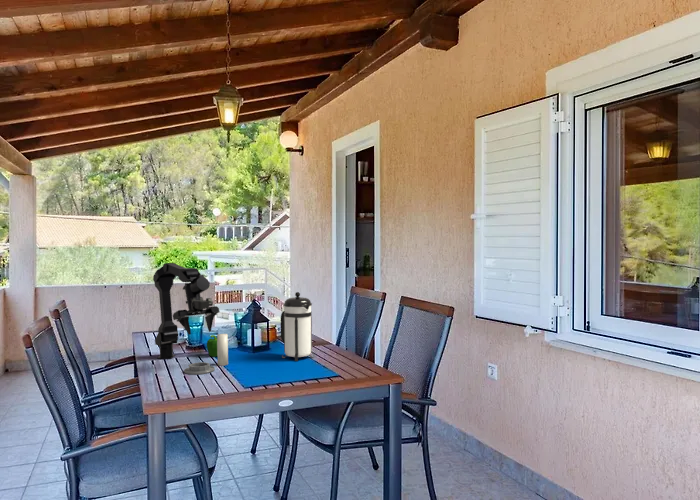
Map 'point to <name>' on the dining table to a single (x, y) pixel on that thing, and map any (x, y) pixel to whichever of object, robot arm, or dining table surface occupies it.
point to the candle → (222, 349)
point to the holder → (199, 368)
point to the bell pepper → (212, 346)
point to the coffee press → (297, 327)
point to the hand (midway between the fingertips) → (200, 332)
